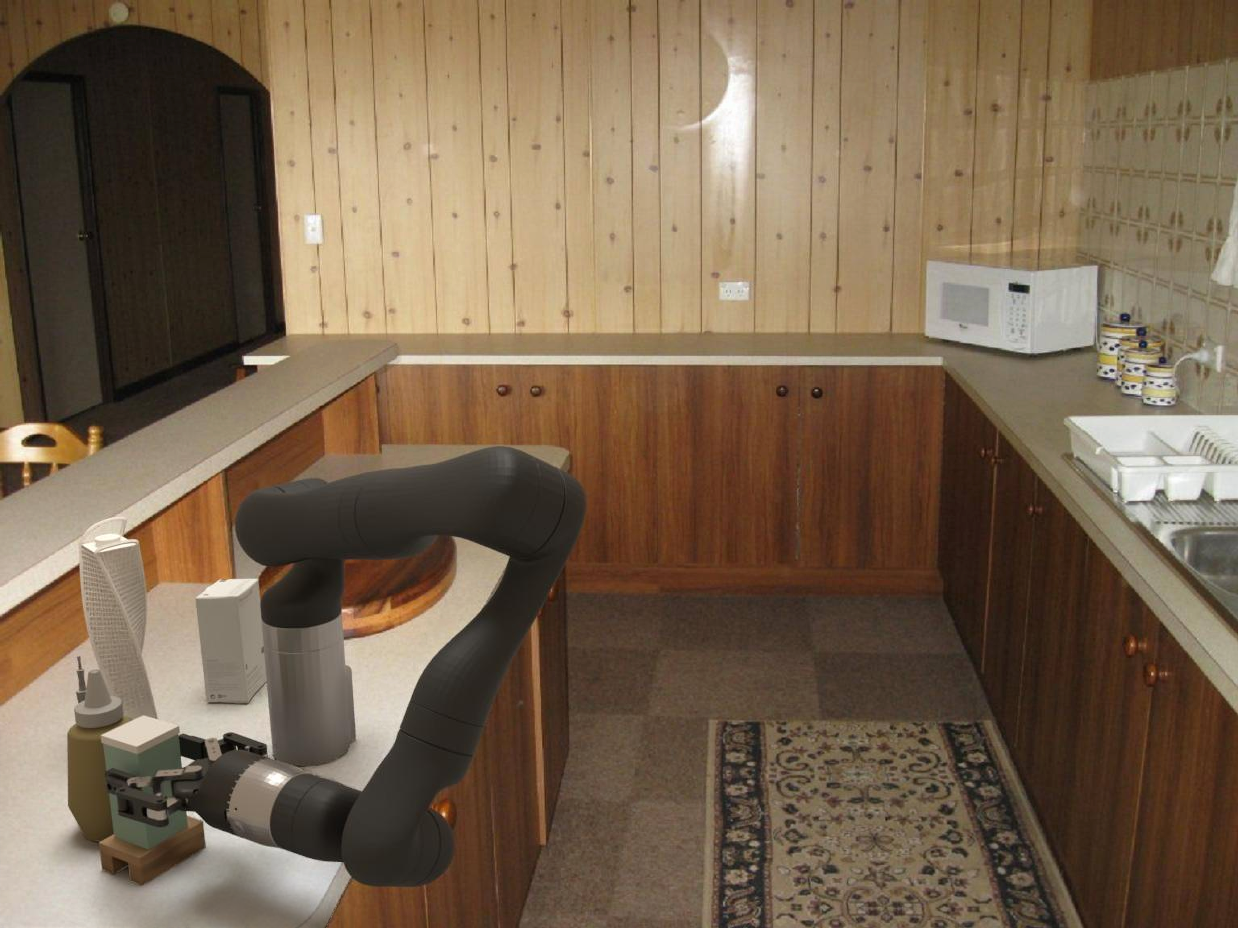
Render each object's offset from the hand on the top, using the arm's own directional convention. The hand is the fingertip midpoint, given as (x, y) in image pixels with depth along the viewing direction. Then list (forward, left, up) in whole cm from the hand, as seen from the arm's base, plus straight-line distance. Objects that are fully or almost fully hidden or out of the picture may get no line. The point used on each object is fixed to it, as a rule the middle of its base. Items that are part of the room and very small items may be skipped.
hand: (144, 760), depth 124 cm
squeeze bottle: (-2, -9, -11) cm, 14 cm away
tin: (0, 0, -8) cm, 8 cm away
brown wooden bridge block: (0, 0, -11) cm, 11 cm away
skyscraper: (-17, -25, -11) cm, 33 cm away
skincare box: (-34, -24, -11) cm, 43 cm away
